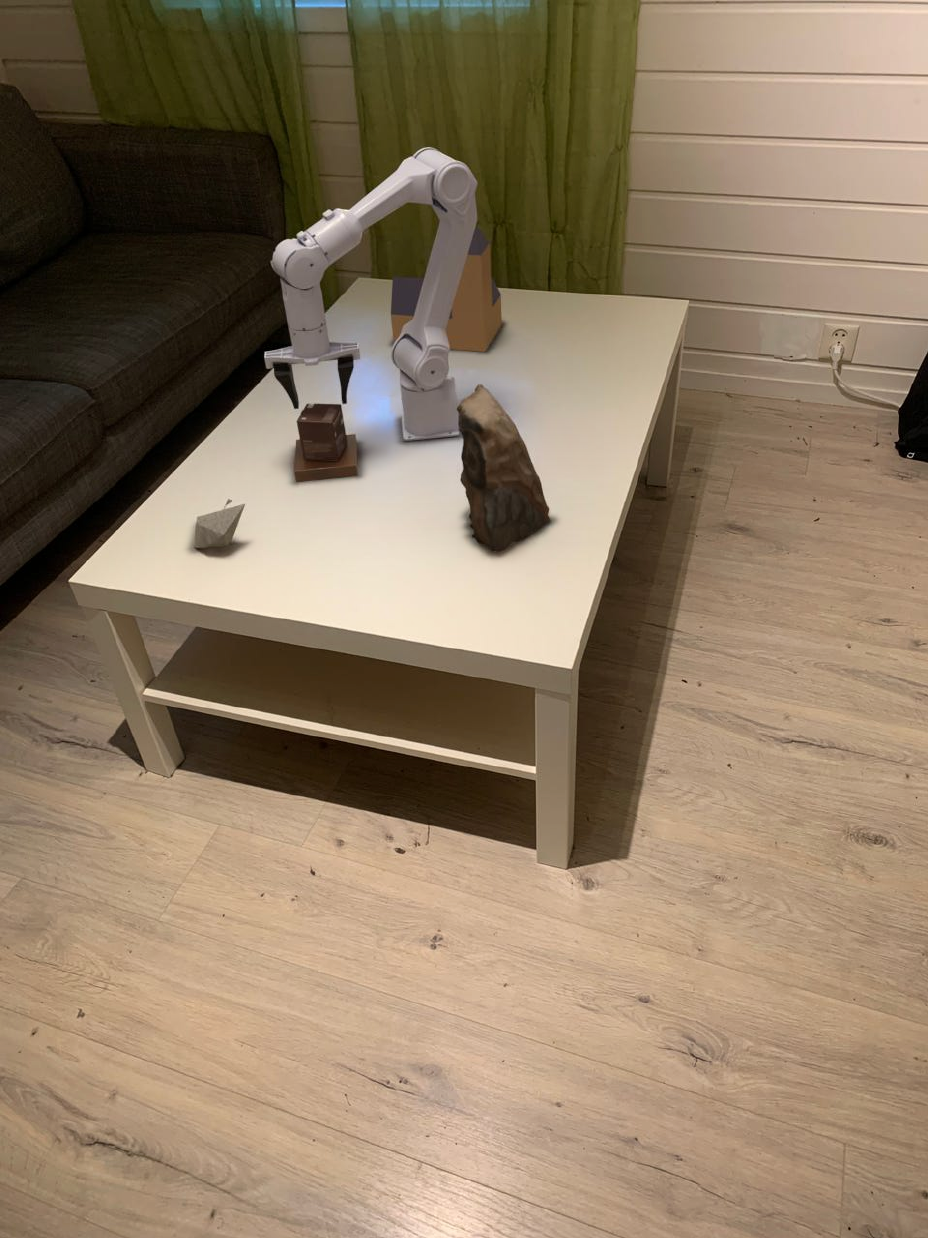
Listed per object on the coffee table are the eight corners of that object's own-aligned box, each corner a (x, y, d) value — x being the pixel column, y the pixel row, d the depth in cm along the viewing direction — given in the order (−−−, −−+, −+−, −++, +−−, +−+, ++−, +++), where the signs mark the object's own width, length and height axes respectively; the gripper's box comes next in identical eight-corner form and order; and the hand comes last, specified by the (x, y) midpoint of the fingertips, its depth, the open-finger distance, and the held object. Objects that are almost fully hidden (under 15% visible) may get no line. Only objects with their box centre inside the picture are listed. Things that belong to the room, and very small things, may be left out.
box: (338, 462, 162) (331, 422, 158) (302, 460, 163) (295, 420, 159) (348, 443, 167) (342, 403, 162) (313, 441, 168) (306, 402, 163)
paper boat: (166, 543, 149) (189, 497, 154) (199, 568, 153) (221, 521, 158) (212, 523, 142) (236, 474, 146) (247, 549, 145) (268, 501, 150)
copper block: (356, 443, 170) (355, 433, 169) (357, 475, 163) (356, 465, 162) (297, 449, 170) (295, 439, 169) (296, 481, 162) (294, 471, 161)
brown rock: (493, 559, 144) (487, 436, 131) (434, 524, 151) (424, 405, 138) (553, 521, 150) (554, 401, 137) (494, 489, 157) (489, 372, 144)
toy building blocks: (485, 351, 194) (479, 220, 178) (393, 344, 198) (380, 215, 182) (501, 324, 203) (497, 196, 187) (413, 317, 207) (402, 192, 191)
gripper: (257, 338, 148) (274, 420, 157) (355, 329, 149) (366, 410, 158) (259, 318, 154) (275, 398, 162) (354, 309, 154) (365, 389, 163)
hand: (320, 403), depth 160 cm, fingers open, 7 cm apart
